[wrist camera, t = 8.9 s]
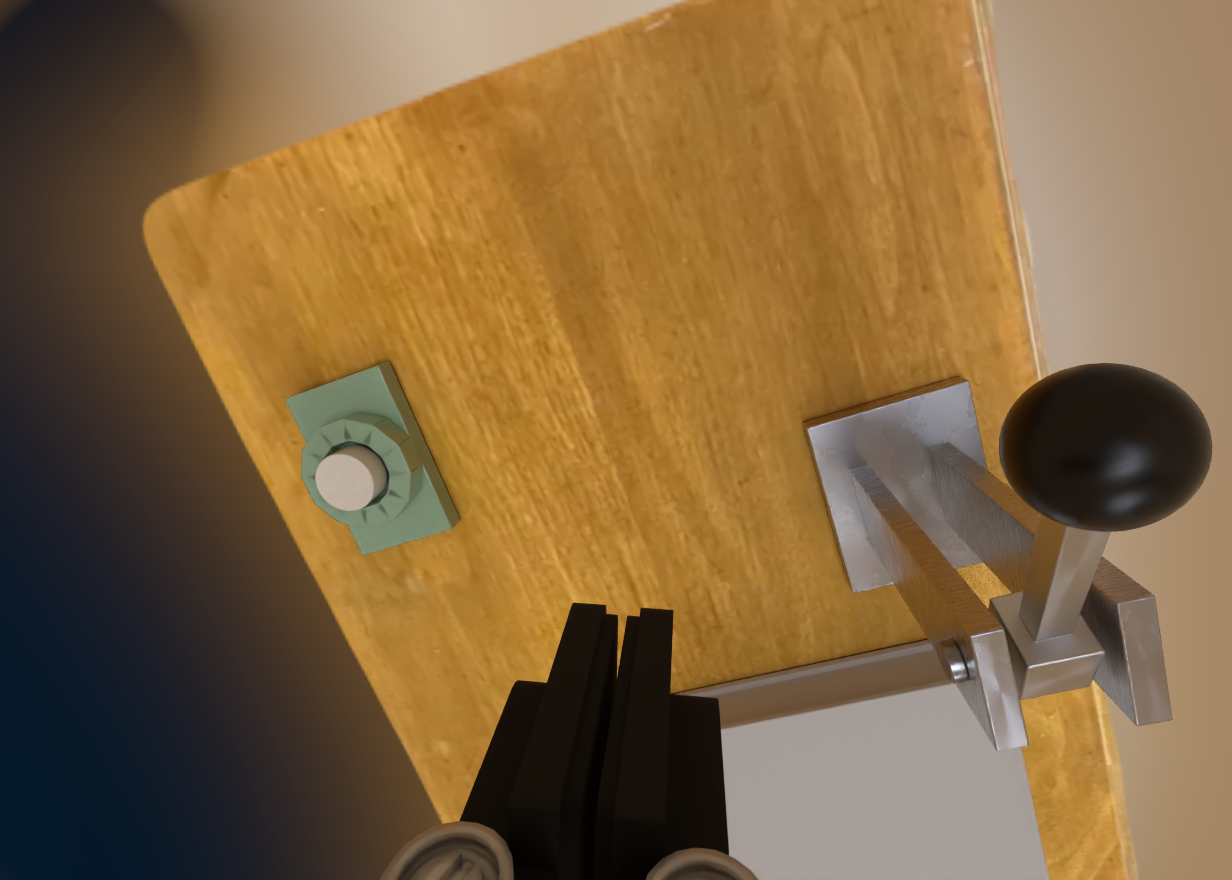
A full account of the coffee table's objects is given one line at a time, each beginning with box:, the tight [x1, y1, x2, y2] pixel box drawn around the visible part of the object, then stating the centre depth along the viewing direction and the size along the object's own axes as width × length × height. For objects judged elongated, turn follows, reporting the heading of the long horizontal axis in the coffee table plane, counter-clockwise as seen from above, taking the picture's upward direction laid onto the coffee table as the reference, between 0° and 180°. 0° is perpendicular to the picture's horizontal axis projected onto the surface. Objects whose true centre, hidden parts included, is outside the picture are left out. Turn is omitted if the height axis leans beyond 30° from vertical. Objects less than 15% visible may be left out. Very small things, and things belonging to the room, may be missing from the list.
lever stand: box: [803, 376, 1172, 751], centre depth 26 cm, size 10×8×16 cm
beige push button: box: [315, 445, 387, 511], centre depth 33 cm, size 3×3×2 cm
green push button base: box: [285, 361, 460, 555], centre depth 35 cm, size 10×6×3 cm, turn 19°
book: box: [676, 640, 1049, 880], centre depth 38 cm, size 18×4×24 cm
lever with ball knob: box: [988, 363, 1212, 700], centre depth 17 cm, size 13×4×4 cm, turn 20°
